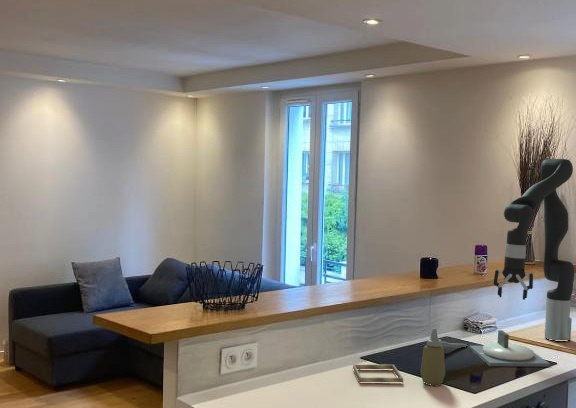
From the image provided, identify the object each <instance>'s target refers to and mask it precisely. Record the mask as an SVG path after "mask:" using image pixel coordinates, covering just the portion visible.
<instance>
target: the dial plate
mask: <svg viewBox="0 0 576 408" xmlns="http://www.w3.org/2000/svg"><path fill="white" fill-rule="evenodd" d="M483 346H484V345H469V346H468V348H470V349H471V350H472V351H471V350H470V349H469V350H470V351H471V352H473V353H474V354H475V355H476V354H477V355H478V356H479V358H480V360H482V361H483V362H484V363H485V362H486V363H485V364H486V365H487V366H489V367H539V368H540V367H543V368H544V367H548V368H549V367H550V366H551V365H550V362H548V361H547V360H546V359H545V358H543V357H541V356H539V355H538V354H537V353H535V352H534V356H533V358H532V359H529V360H521V361H516V360H505V359H499V358H495V357H491V356H489V355H487V354H485V353H484V352H483ZM523 346H524V347H526V346H525V345H523ZM477 355H476V356H477ZM478 356H477V357H478Z"/></svg>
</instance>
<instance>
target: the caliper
mask: <svg viewBox="0 0 576 408" xmlns="http://www.w3.org/2000/svg"><path fill="white" fill-rule="evenodd" d="M438 339H439V340H441V346H442V347H443V348H444V350H448V348H456V349H457V348H458V349H459V348H460V349H462V348H461V347H465V348H467V347H466V346H468V345H467V344H466V343H457V342H456V343H453V342H452V343H451V342H447V341H442V339H441V338H438Z"/></svg>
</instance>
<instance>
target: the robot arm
mask: <svg viewBox="0 0 576 408" xmlns="http://www.w3.org/2000/svg"><path fill="white" fill-rule="evenodd" d="M540 167H541V168H540V177H541V181H539V182H537V183H535V184H533V185H531V186H530V187H529V188H528V189H526V191H525V192H524V193H523V194H522V196H519V197H518V198H516V199H514V200H513V201H511V202H509V204H507V205H506V206H505V208H504V210H503V217H504V219H505V220H506V221H507V222H509V223H514V224H515V223H517V224H518V225H517V227H515V228H510V229H508V230H507V234H506V244H505V249H504V262H503V263H504V264H503V270H500V269H495V270H494V277H493V285H494V286H496V287H497V295H498V297H499V298H502V293H503V286H504V285H505V284H506V283H507V282H508V283H510V284H511V283H515V284H518V283H520V285H521V286H522V288H523V290H522V300H526V299H527V298H528V290H532V289H534V274H533V272H526V271H525V267H526V257H527V255H526V253H527V235H528V232H529V229H530V226H531V223H532V220H533V217H534V210H536V208H538V206H539V205H540V204H541V203H543V209H544V210H543V218H544V219H543V221H544V222H543V223H544V227H543V228H544V256H543V275H544V277H545V279H546V280H547V281H549V282H550V281H551V282H555V283H557V287H556V288H553V289H549V290H548V291H546V306H545V307H546V308H545V322H544V323H545V324H544V339H545V338H548V339H552V340H571V339H572V338H571V336H572V321H573V320H572V317H570V316H571V300H572V295H573V290H574V283H575V282H574V281H575V273H576V272H575V267H574V264H573V263H572V262H571V261H567V260H561V259H559V248H560V245H561V243H562V242H563V240H564V238H565V237H566V235H567V234H568V231H569V212H568V210H567V207H566V206H565V203H563V201H562V199H561V198H560V197H559V195H558V192H557V189H558V188H560V187H561V186H562V185H563V184H565V183H566V182H567V181H569V180H570V179H571V178H572V174H573V171H574V168H573V167H574V166H573V164H572V161H570V160H569V159H566V158H546V159H544V160H543V161H542V163H541V165H540ZM501 274H502V276H503V277H504V278H502V280H501V281H500V282H498V278H499V276H501ZM525 277H526V278H527V279H528V285H526V283H525V282H524V281H523V279H524V278H525Z"/></svg>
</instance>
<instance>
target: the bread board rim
mask: <svg viewBox="0 0 576 408" xmlns="http://www.w3.org/2000/svg"><path fill="white" fill-rule="evenodd" d="M353 369H354V371H355V373H354V375H355V374H356V376H357V378H358V380H359V382H403V383H404V377H403V375H402V374H401V373H400V371H399V370H398V369H397V367H396V366H395V364H368V363H367V364H365V363H364V364H362V363H361V364H359V363H358V364H355V363H354V364H352V370H353ZM357 369H393V371H394V372H395V374H396V375H397V376H398V378H397V377H385V376H383V377H382V376H381V377H380V376H379V377H378V376H376V377H375V376H373V377H372V376H371V377H368V376H363V377H362V375H361V374H360V372H359V371H358V370H357ZM354 371H353V372H354ZM393 371H392V372H393ZM395 374H394V375H395ZM356 376H355V377H356ZM357 378H356V379H357ZM358 380H357V381H358ZM359 382H358V383H359Z"/></svg>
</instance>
